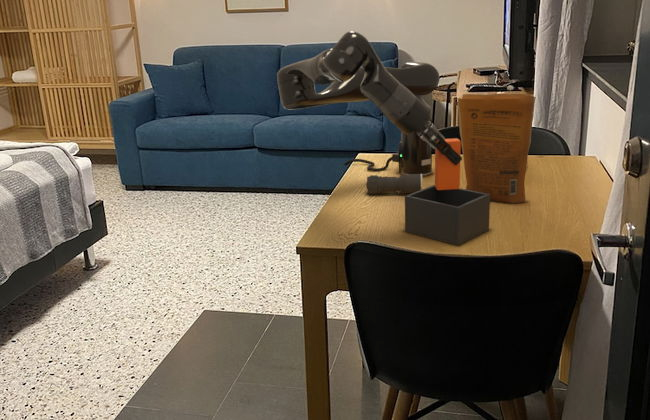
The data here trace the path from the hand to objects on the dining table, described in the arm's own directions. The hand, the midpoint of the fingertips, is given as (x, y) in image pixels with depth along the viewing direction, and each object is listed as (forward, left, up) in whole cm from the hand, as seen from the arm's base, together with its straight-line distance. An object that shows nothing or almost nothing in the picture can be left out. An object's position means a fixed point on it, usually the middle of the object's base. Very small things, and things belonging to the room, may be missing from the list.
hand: (456, 159), depth 148 cm
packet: (-1, -2, -6) cm, 7 cm away
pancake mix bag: (-5, +25, -17) cm, 31 cm away
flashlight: (-29, +14, -17) cm, 37 cm away
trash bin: (-1, -2, -17) cm, 17 cm away
